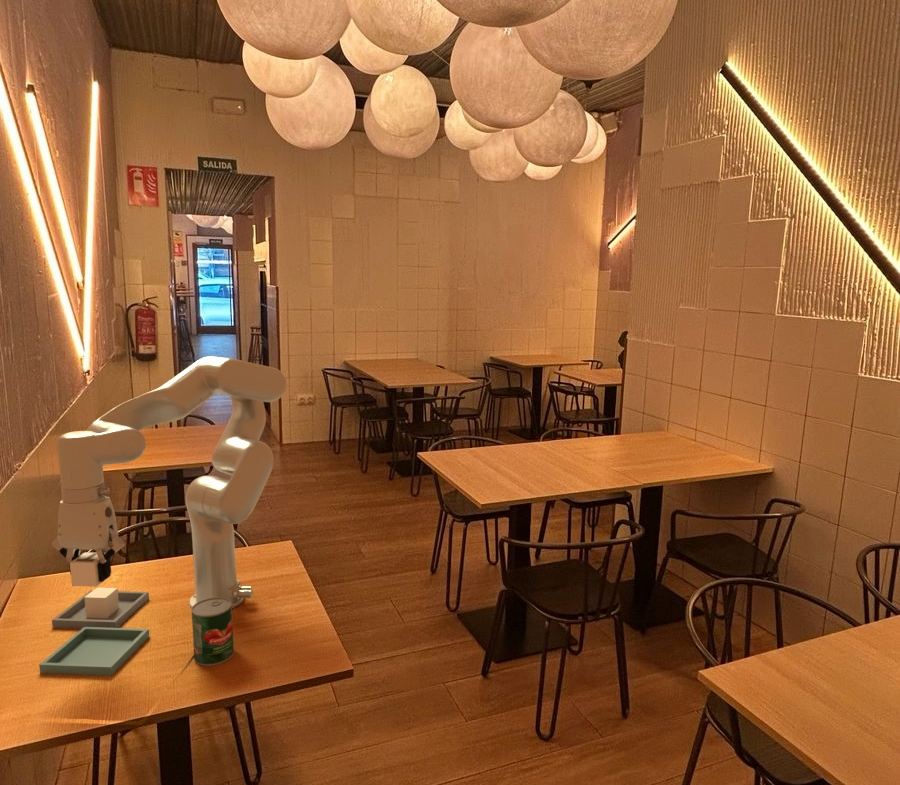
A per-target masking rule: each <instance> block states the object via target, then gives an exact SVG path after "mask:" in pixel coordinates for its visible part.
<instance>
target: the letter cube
mask: <svg viewBox="0 0 900 785" xmlns="http://www.w3.org/2000/svg"><path fill="white" fill-rule="evenodd" d="M104 554H105V553H104ZM98 563H100V561H99V558H98V556H97V553H96V552H87V551H86V552H83V553H82V554H80V556H79V557H77V558H76V559H74V560H73V561H71V562H70V565H69V571H70V570H71V574H70V579H71V586H72V587H88V588H90V587H92V588H93V587H96V588H97V587H98V586H99V585H100V584H102V583H103V582H99V576H98Z"/></svg>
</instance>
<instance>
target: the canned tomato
mask: <svg viewBox="0 0 900 785" xmlns="http://www.w3.org/2000/svg"><path fill="white" fill-rule="evenodd" d="M231 606H232V603H231V601H230V600H228V599H226V598H220V597H216V598H209V599H205V600H202V601H200V602H198V603H196V604H195V605H194V606H193V607H192V608H191V610H190V611H191V620H192V621H191V623H192V641H193V656H194V657H193V659H194V662H195V664H198V665H199V666H202V667H203V666H204V667H209V666H210V667H212V666H218V665H221V664H223V663H225V662H227V661H229V660H230V659H231V658H232V657H233V656H234V654H235V649H234V647H235V646H234V628H233V610H232V609H233V608H232V607H231Z"/></svg>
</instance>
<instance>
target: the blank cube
mask: <svg viewBox="0 0 900 785" xmlns="http://www.w3.org/2000/svg"><path fill="white" fill-rule="evenodd" d="M92 590H93V591H92V592H91V593H89V594H88V595H87V596H85V597H84V598H85V609H86V618H108V617H109V616H110V615H111V614H113V613H114V612H115V611H116V610H117V609H118V608H119V598H118V591H119V590H118V588H117V587H98V586H97V587H96V588H95V589H92Z"/></svg>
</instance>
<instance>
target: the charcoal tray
mask: <svg viewBox="0 0 900 785" xmlns="http://www.w3.org/2000/svg"><path fill="white" fill-rule="evenodd" d="M93 590H94V589H92V590H90V591H88V592H87V593H85V594H84V595H83V596H82V597H80V598H79V599H77V600H76V601H75V602H73V603H72V604H71V605H70V606H68V607H67V608H65V609H64V610H63V611H62V612H61V613H59V614H58V615H56V616H55V617H54V618H53V619H51V623H52V624H51V626H52V629H78V630H81V629H82V628H83V627H105V628H120V626H122V625H123V624H124V623H125V622H126V621H127V620H128V619H129V618H130V617H132V616H133V615H134V613H135V612H137V611H138V610H139V609H141V607H142V606H144V605H145V603H147V601H149V600H150V594H149V591H130V590H129V591H127V590H125V591H124V590H118V598H119V608H118V609H117V610H116V611H115V612H114V613H113V614H111V615H110V616H109V617H108V618H86V609H85V598H84V597H85V596H87V595H88V594H89V593H91V592H92V591H93Z"/></svg>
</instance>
